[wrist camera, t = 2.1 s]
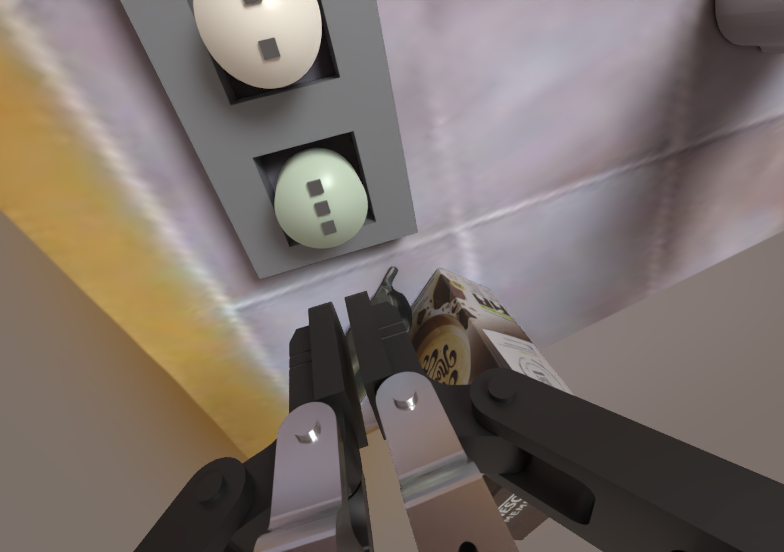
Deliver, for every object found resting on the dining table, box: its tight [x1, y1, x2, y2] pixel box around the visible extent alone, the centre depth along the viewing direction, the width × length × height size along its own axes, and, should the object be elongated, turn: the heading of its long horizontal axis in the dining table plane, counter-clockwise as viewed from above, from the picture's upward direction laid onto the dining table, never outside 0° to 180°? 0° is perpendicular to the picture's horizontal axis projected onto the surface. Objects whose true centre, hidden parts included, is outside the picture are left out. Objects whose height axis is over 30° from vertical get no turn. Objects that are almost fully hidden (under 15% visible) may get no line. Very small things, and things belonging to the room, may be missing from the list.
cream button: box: [193, 0, 322, 89], centre depth 16 cm, size 5×5×3 cm
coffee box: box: [408, 269, 573, 540], centre depth 26 cm, size 9×6×16 cm
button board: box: [120, 0, 418, 279], centre depth 18 cm, size 26×11×2 cm, turn 12°
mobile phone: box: [346, 267, 412, 403], centre depth 30 cm, size 5×3×15 cm
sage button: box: [274, 148, 368, 248], centre depth 21 cm, size 5×5×3 cm
